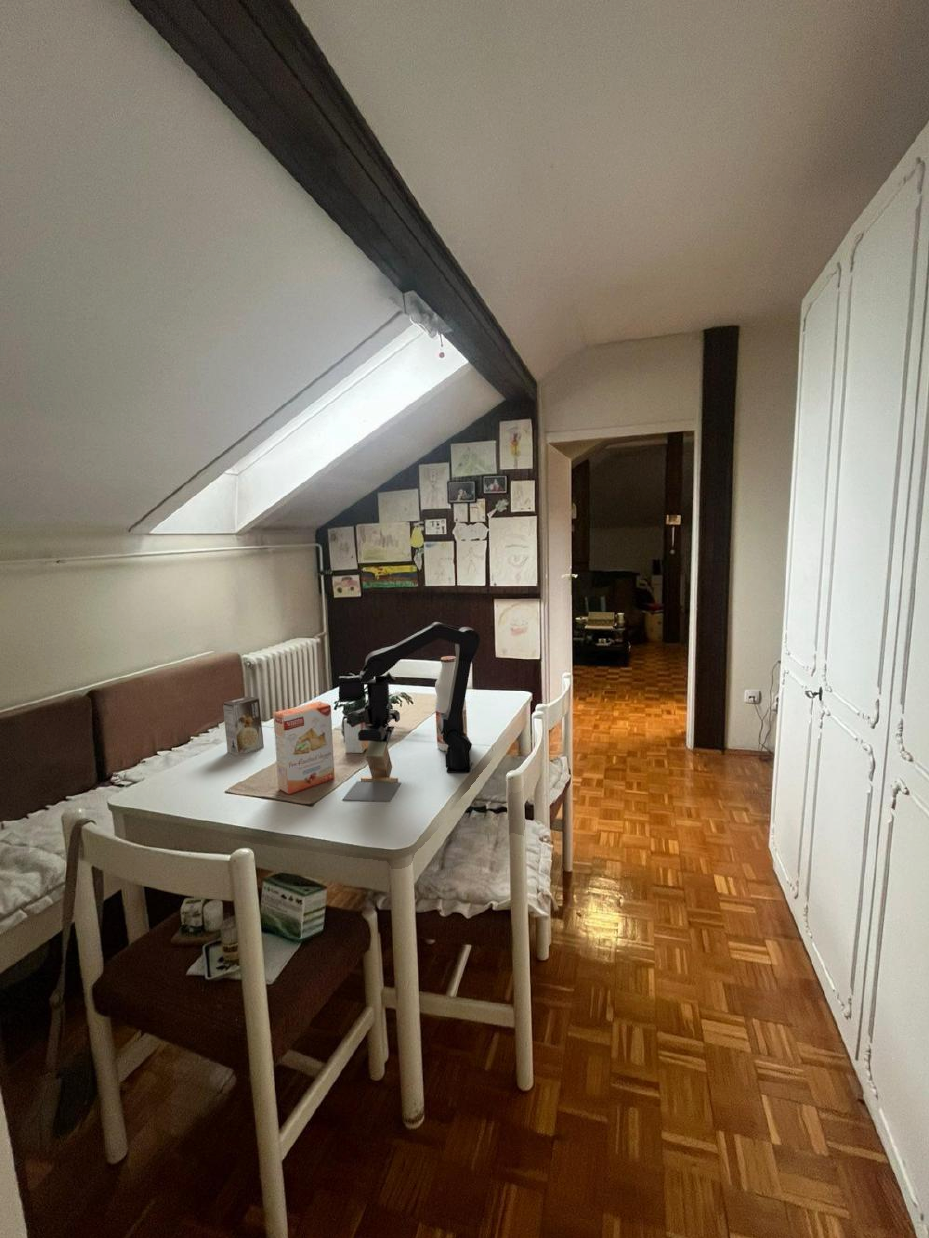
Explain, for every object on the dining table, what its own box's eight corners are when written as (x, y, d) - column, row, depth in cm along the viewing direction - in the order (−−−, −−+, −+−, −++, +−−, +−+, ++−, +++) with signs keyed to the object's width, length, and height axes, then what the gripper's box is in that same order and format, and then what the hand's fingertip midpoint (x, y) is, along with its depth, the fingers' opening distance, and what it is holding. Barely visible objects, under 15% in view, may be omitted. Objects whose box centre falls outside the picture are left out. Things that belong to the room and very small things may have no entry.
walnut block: (392, 766, 159) (385, 741, 154) (388, 780, 156) (382, 754, 150) (376, 766, 160) (369, 741, 154) (372, 779, 157) (365, 754, 151)
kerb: (398, 781, 155) (398, 777, 155) (397, 782, 154) (397, 779, 154) (362, 780, 156) (361, 776, 156) (360, 781, 155) (360, 778, 155)
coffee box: (252, 743, 189) (248, 695, 187) (264, 747, 185) (260, 698, 183) (226, 752, 182) (221, 702, 180) (238, 756, 178) (233, 705, 176)
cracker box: (289, 796, 148) (283, 716, 146) (277, 789, 153) (271, 712, 150) (336, 778, 158) (331, 703, 155) (324, 773, 162) (319, 700, 160)
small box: (362, 753, 177) (360, 719, 175) (345, 752, 178) (342, 719, 176) (371, 744, 184) (369, 712, 183) (355, 743, 186) (353, 711, 184)
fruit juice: (449, 754, 173) (445, 662, 169) (431, 746, 180) (426, 657, 177) (473, 746, 179) (470, 657, 175) (454, 739, 186) (451, 653, 182)
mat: (400, 783, 154) (400, 782, 153) (389, 801, 143) (389, 800, 143) (357, 782, 155) (356, 781, 155) (342, 800, 145) (342, 799, 145)
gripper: (361, 690, 166) (364, 742, 168) (336, 708, 148) (340, 767, 150) (399, 690, 164) (401, 743, 166) (379, 709, 146) (382, 769, 148)
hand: (381, 755), depth 158 cm, fingers closed
